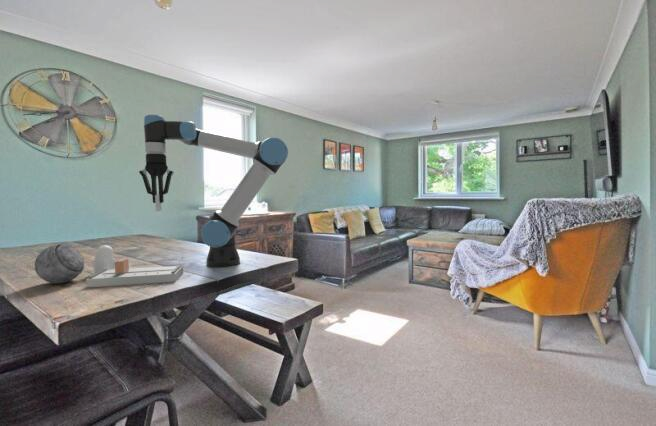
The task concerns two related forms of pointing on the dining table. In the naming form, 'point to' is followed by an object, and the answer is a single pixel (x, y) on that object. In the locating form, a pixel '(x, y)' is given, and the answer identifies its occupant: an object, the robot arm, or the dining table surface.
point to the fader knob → (121, 266)
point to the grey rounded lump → (59, 263)
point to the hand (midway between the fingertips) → (158, 210)
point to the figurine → (104, 259)
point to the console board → (135, 276)
